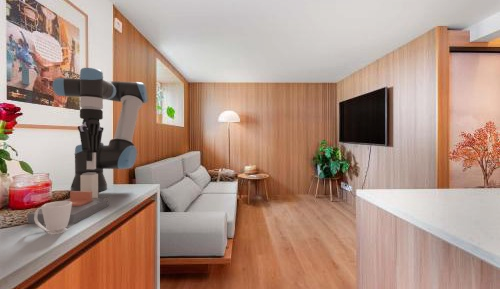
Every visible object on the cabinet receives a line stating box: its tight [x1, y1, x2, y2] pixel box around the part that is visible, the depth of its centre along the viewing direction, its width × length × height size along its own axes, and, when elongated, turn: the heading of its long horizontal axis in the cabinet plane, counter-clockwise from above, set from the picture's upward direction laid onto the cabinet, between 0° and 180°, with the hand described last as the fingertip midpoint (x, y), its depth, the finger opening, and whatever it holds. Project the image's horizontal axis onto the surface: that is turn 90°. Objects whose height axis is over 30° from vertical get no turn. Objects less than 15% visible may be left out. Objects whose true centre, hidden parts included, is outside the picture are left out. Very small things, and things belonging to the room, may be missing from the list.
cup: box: [34, 200, 72, 236], centre depth 70 cm, size 7×10×8 cm
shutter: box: [68, 190, 93, 206], centre depth 88 cm, size 7×7×4 cm
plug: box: [80, 172, 99, 198], centre depth 103 cm, size 4×4×12 cm
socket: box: [26, 197, 109, 225], centre depth 86 cm, size 20×14×3 cm
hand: (91, 169), depth 97 cm, fingers closed
